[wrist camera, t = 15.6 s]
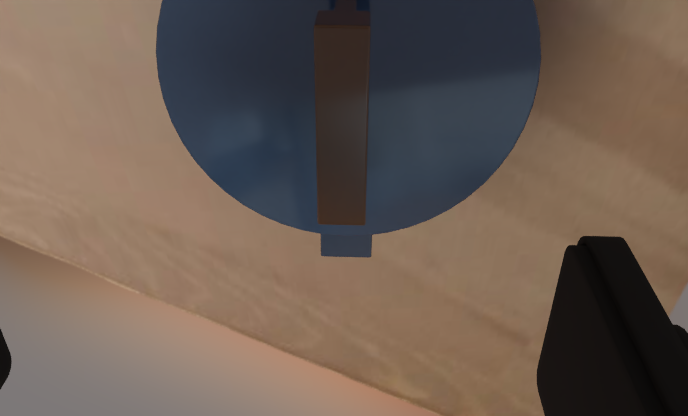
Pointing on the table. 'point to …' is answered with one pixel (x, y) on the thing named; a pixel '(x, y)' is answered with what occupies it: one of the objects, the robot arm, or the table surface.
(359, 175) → the lid
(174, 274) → the table surface
